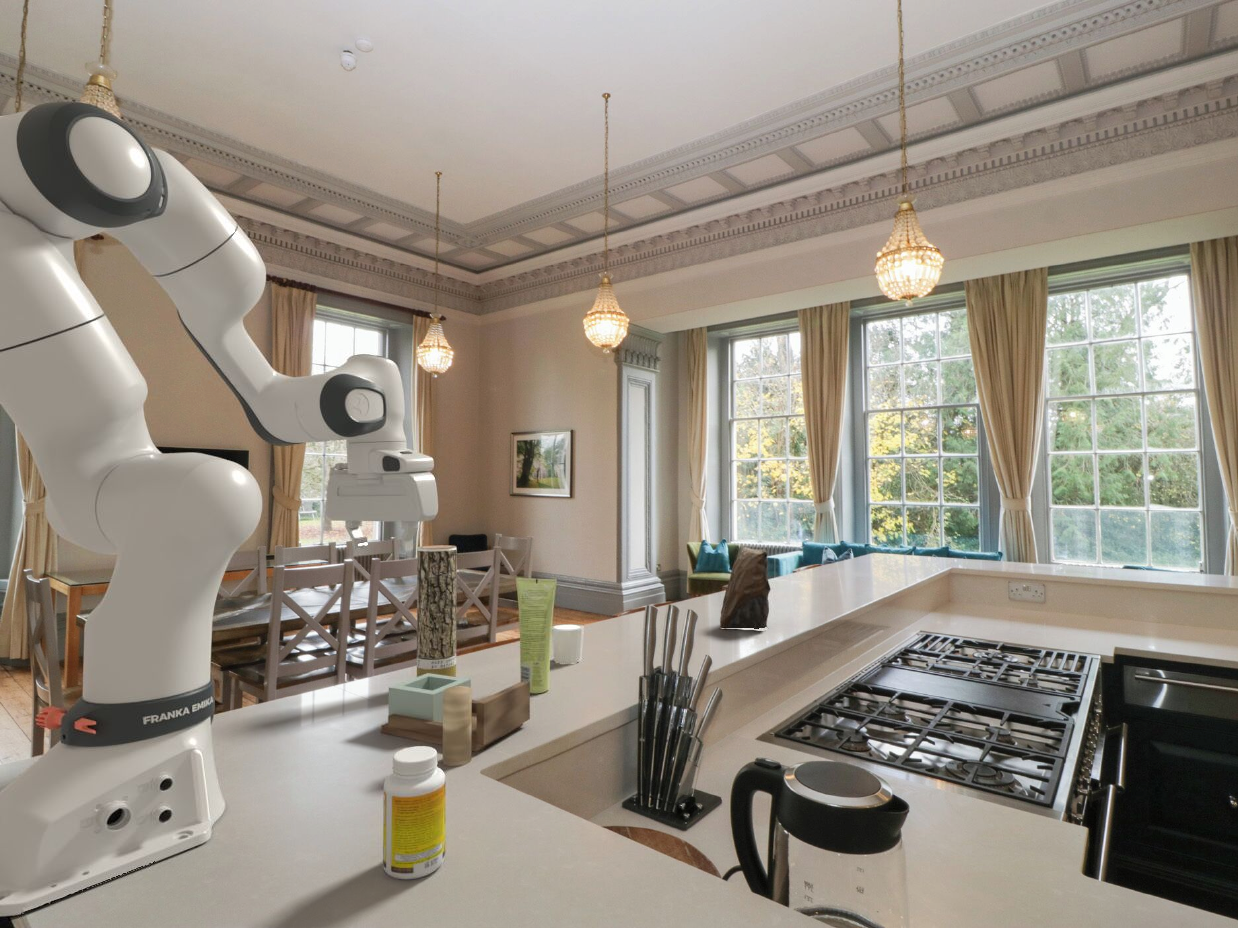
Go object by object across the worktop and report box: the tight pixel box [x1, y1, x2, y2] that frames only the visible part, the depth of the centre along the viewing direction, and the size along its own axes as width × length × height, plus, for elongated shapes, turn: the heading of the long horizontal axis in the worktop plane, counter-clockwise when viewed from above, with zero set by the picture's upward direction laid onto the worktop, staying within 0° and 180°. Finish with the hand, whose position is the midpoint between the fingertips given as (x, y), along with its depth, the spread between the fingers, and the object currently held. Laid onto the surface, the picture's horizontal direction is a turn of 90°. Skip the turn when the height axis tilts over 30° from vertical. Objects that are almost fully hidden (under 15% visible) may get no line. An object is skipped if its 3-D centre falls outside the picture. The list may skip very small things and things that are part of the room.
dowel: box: [442, 686, 473, 767], centre depth 86 cm, size 4×4×9 cm
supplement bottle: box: [382, 745, 446, 880], centre depth 62 cm, size 6×6×10 cm
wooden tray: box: [380, 680, 531, 752], centre depth 97 cm, size 11×18×6 cm, turn 65°
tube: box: [515, 577, 558, 694], centre depth 116 cm, size 6×5×20 cm
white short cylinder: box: [551, 623, 585, 665], centre depth 136 cm, size 7×7×7 cm
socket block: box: [387, 673, 472, 723], centre depth 99 cm, size 8×8×5 cm
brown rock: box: [719, 546, 771, 629], centre depth 169 cm, size 13×13×20 cm
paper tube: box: [416, 544, 458, 677], centre depth 118 cm, size 7×7×25 cm
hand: (382, 549), depth 103 cm, fingers open, 8 cm apart
